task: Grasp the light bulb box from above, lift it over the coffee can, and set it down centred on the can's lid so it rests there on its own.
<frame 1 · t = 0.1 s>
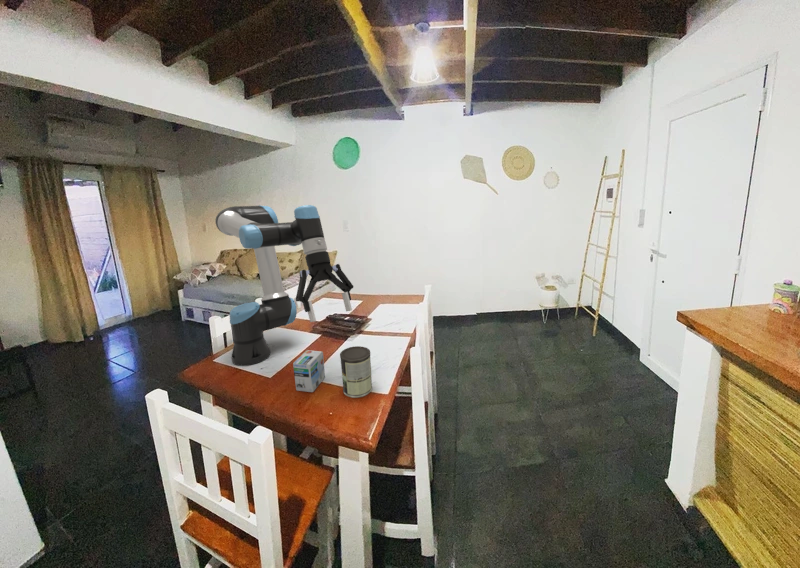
hand: (332, 316, 103), 28 cm above the table, tool tilted 20°, fingers open, 13 cm apart
coffee can: (357, 389, 110), on the table
light bulb box: (311, 384, 115), on the table
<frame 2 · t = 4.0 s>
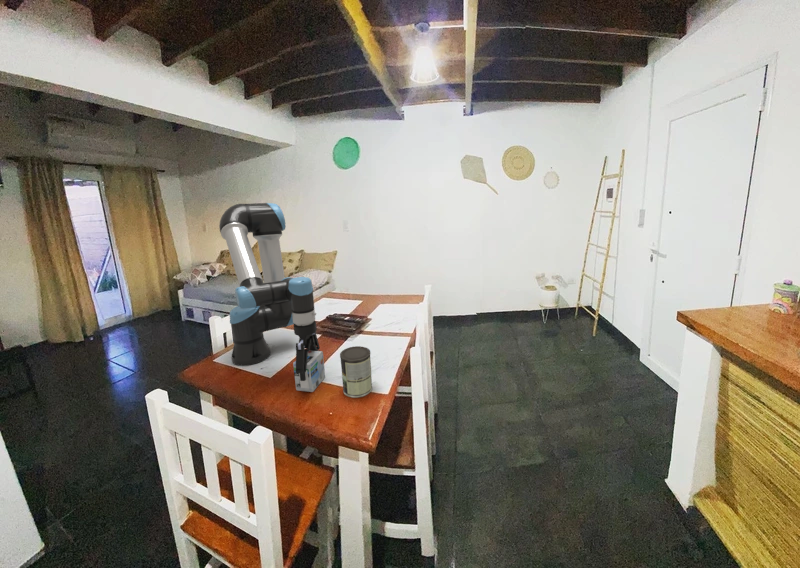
hand: (310, 378, 114), 2 cm above the table, tool pointing down, fingers closed on light bulb box, 11 cm apart
light bulb box: (311, 383, 115), on the table, touching gripper
everything else where it was.
when the fingers open (18 cm above the table, at t = 10.2 s): light bulb box drops 2 cm, resting on coffee can.
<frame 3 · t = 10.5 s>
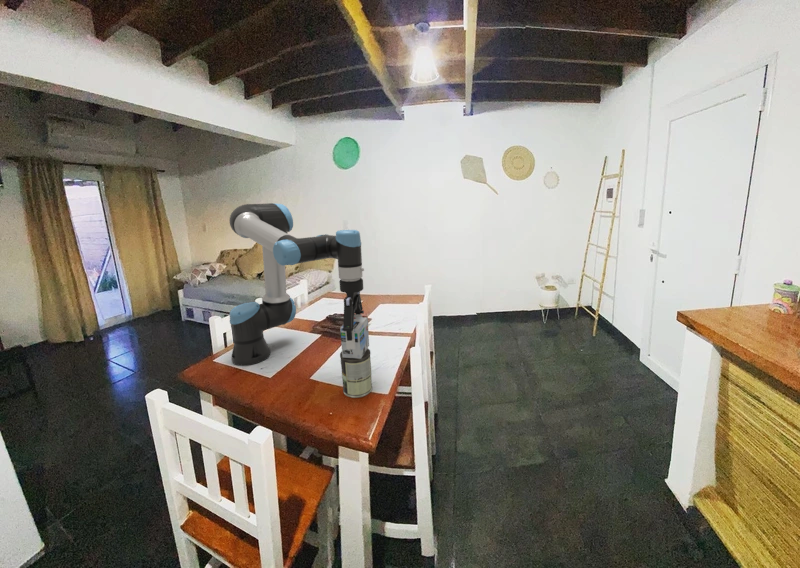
hand: (355, 339, 106), 19 cm above the table, tool pointing down, fingers open, 13 cm apart
coffee can: (357, 389, 110), on the table, touching light bulb box
light bulb box: (356, 351, 108), point 14 cm above the table, touching coffee can
everything else where it was.
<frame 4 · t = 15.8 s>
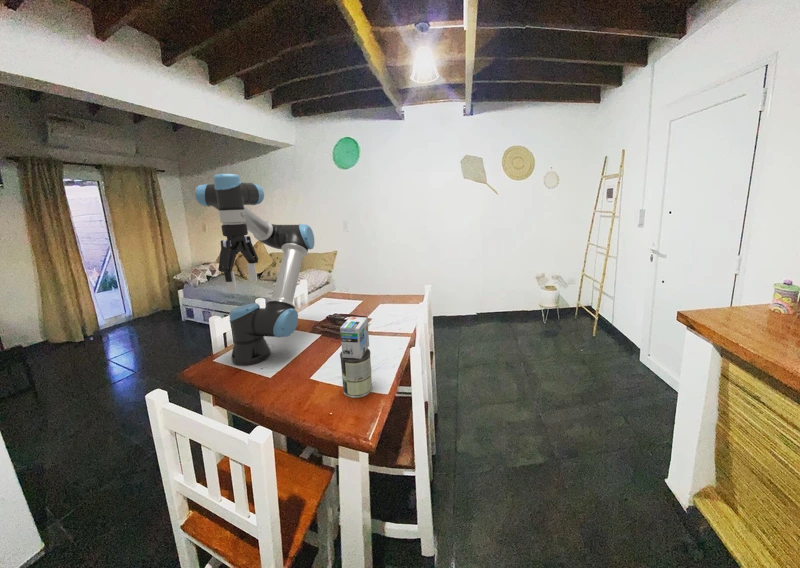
hand: (243, 285, 109), 37 cm above the table, tool pointing down, fingers open, 13 cm apart
nothing on the table moved.
at the end: light bulb box 1.1 cm off-centre on the coffee can, point 14.1 cm above the coffee can's base; the gripper is holding nothing; light bulb box tilted 0° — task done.
